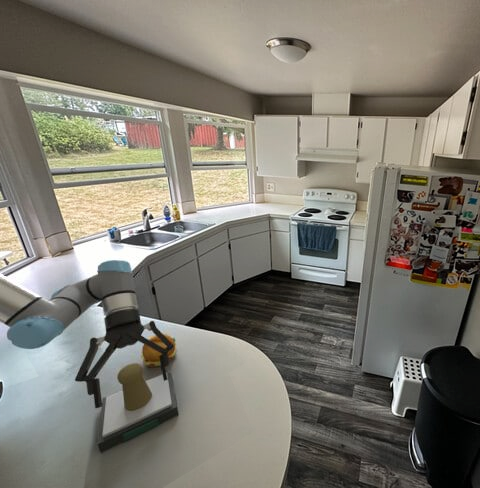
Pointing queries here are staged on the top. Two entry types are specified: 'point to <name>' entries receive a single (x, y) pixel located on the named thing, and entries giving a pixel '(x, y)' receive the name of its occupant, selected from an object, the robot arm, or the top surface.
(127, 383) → the cork
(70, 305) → the robot arm
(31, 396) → the top surface
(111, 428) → the kitchen scale
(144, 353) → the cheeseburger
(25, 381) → the top surface
